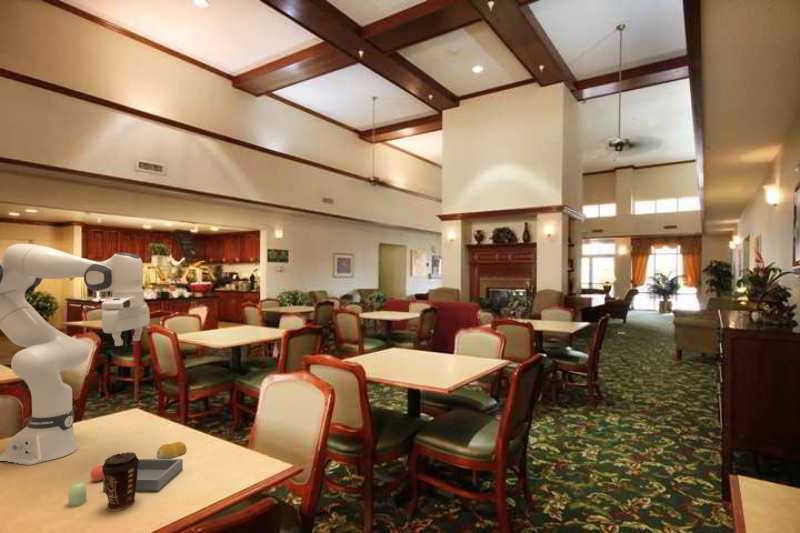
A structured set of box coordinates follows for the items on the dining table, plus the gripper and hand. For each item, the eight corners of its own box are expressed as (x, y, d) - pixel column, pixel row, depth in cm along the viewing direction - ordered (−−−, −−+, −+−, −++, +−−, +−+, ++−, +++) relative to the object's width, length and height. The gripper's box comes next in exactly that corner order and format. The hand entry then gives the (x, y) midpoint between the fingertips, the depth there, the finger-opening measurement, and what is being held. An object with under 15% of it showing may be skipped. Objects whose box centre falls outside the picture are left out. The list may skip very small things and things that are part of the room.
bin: (103, 491, 127) (103, 479, 127) (133, 469, 141) (133, 458, 141) (158, 492, 126) (158, 480, 126) (182, 469, 140) (182, 458, 140)
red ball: (86, 483, 131) (86, 468, 131) (97, 476, 136) (97, 462, 136) (101, 483, 131) (101, 468, 131) (111, 476, 136) (111, 462, 136)
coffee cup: (114, 496, 124) (114, 451, 124) (144, 495, 124) (145, 450, 125) (95, 514, 115) (95, 464, 115) (128, 512, 116) (128, 463, 116)
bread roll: (189, 453, 153) (189, 442, 153) (162, 462, 147) (162, 450, 147) (180, 447, 159) (180, 436, 159) (153, 454, 152) (153, 443, 152)
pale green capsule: (64, 506, 119) (64, 488, 119) (75, 499, 123) (75, 481, 123) (79, 507, 119) (79, 488, 119) (89, 499, 123) (89, 481, 123)
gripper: (137, 299, 156) (137, 338, 156) (97, 303, 135) (97, 348, 135) (154, 299, 156) (154, 338, 156) (117, 303, 135) (117, 348, 135)
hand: (127, 343), depth 145 cm, fingers open, 8 cm apart
